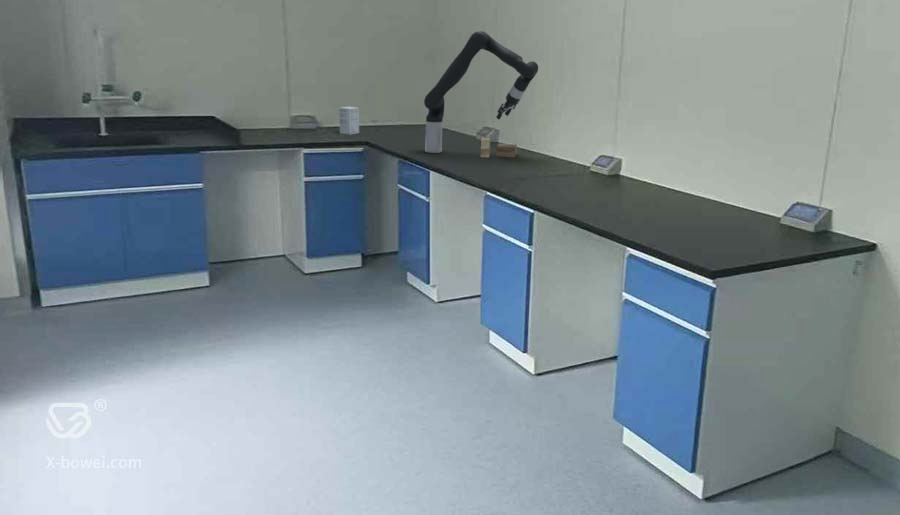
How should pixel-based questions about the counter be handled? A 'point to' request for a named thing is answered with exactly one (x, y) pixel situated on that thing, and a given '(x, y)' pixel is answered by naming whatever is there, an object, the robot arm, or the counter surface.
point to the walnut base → (506, 150)
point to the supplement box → (349, 120)
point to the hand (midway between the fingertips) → (502, 116)
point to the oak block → (485, 147)
